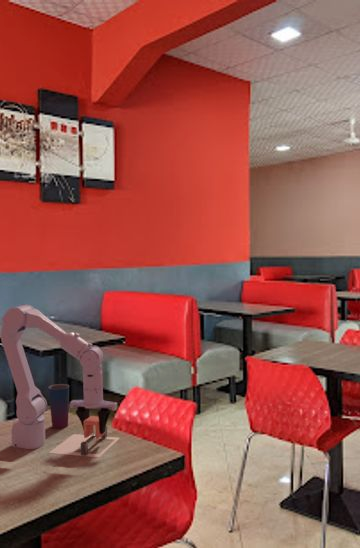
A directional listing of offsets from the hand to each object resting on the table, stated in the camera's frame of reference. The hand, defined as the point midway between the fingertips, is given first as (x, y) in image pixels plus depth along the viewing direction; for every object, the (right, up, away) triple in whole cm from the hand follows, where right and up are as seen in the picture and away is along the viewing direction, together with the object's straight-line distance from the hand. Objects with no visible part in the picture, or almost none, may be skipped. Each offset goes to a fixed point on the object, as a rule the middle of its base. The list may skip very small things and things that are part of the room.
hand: (94, 432), depth 160 cm
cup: (-15, -5, +19) cm, 24 cm away
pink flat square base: (-3, -6, +1) cm, 6 cm away
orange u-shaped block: (0, -1, 0) cm, 1 cm away
